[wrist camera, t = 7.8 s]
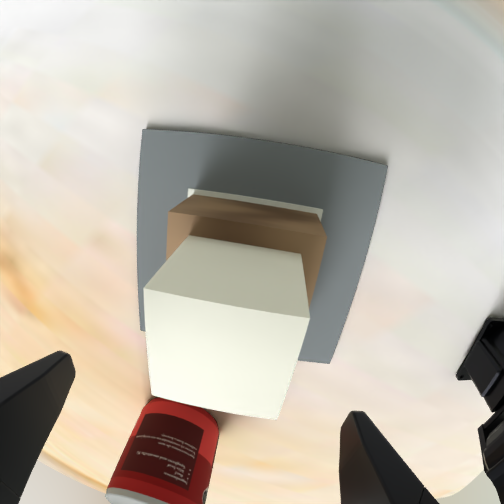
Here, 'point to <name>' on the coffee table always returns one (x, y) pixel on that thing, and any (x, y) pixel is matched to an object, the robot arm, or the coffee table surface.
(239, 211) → the walnut base
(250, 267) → the cream cube
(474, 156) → the coffee table surface
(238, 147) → the building mat
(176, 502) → the canned food
